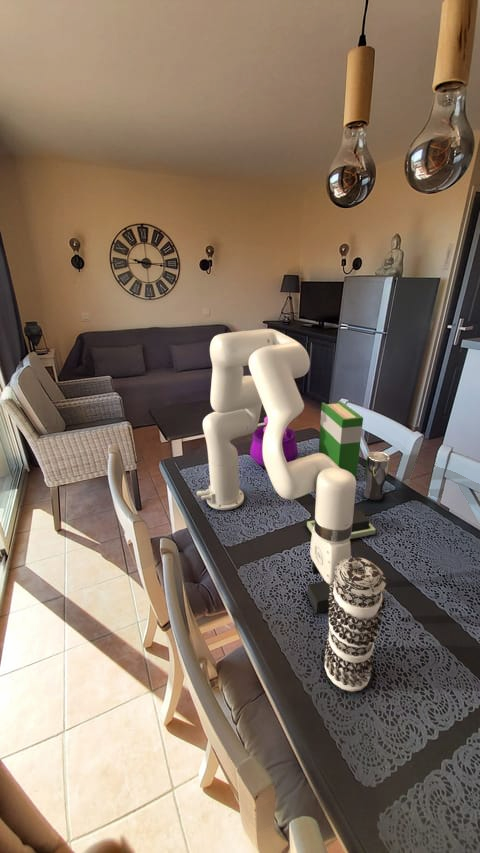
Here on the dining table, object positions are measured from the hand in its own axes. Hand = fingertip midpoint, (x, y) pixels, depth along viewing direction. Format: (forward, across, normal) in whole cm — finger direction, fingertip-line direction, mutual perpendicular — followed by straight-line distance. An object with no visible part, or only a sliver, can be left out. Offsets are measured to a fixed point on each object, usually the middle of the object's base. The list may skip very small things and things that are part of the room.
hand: (328, 588), depth 81 cm
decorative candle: (+5, +15, -3) cm, 16 cm away
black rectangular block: (+4, 0, 0) cm, 4 cm away
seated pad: (+4, -21, +19) cm, 29 cm away
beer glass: (+4, -34, +34) cm, 48 cm away
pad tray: (+4, -21, +15) cm, 26 cm away
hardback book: (+4, -54, +31) cm, 63 cm away
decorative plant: (+4, -66, +10) cm, 67 cm away
